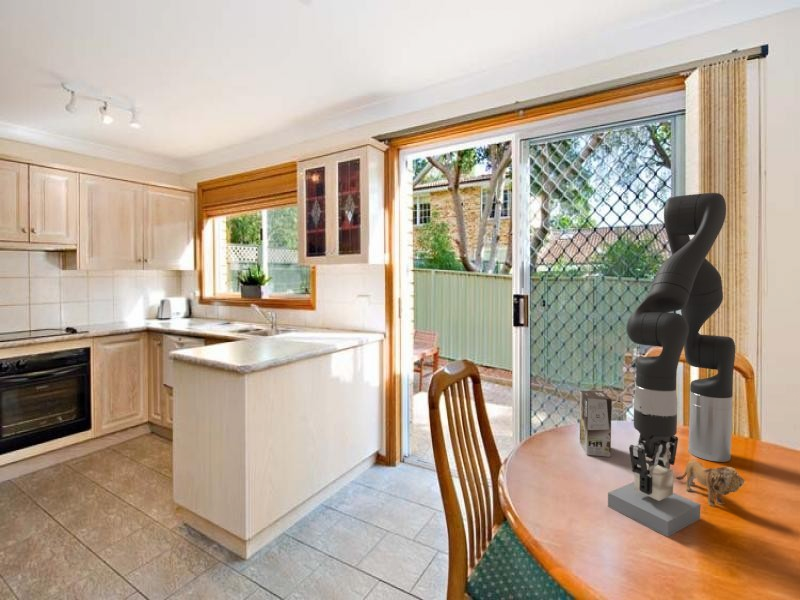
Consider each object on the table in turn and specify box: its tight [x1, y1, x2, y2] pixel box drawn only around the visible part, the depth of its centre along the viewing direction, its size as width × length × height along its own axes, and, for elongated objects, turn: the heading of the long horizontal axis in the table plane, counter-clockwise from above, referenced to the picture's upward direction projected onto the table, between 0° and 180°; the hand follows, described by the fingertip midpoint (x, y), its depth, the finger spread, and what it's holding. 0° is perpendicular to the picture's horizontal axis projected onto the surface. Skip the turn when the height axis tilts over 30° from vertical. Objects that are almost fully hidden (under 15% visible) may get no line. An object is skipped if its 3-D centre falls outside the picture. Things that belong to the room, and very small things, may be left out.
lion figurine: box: [676, 459, 745, 508], centre depth 90 cm, size 15×5×9 cm, turn 12°
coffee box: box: [579, 390, 613, 458], centre depth 115 cm, size 9×6×16 cm
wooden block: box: [633, 463, 674, 501], centre depth 84 cm, size 5×5×5 cm
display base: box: [607, 481, 702, 538], centre depth 84 cm, size 12×12×3 cm
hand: (653, 488), depth 84 cm, fingers closed on wooden block, 5 cm apart
